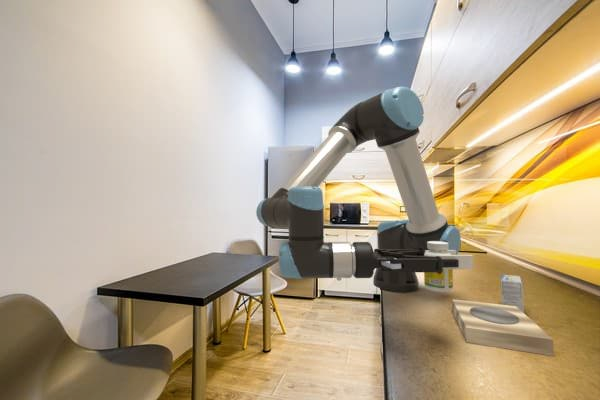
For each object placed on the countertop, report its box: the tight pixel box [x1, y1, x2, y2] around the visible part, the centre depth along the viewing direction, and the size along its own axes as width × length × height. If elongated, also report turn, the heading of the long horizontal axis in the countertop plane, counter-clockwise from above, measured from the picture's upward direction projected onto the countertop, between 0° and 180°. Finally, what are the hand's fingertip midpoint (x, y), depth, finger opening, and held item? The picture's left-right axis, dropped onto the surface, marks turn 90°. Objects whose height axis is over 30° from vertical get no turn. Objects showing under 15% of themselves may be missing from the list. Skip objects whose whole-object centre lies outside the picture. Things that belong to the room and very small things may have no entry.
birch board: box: [451, 299, 555, 357], centre depth 61 cm, size 18×14×3 cm
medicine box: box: [500, 274, 525, 314], centre depth 72 cm, size 8×4×9 cm, turn 143°
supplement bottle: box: [423, 241, 454, 293], centre depth 56 cm, size 5×5×10 cm
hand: (462, 259), depth 56 cm, fingers closed on supplement bottle, 5 cm apart
